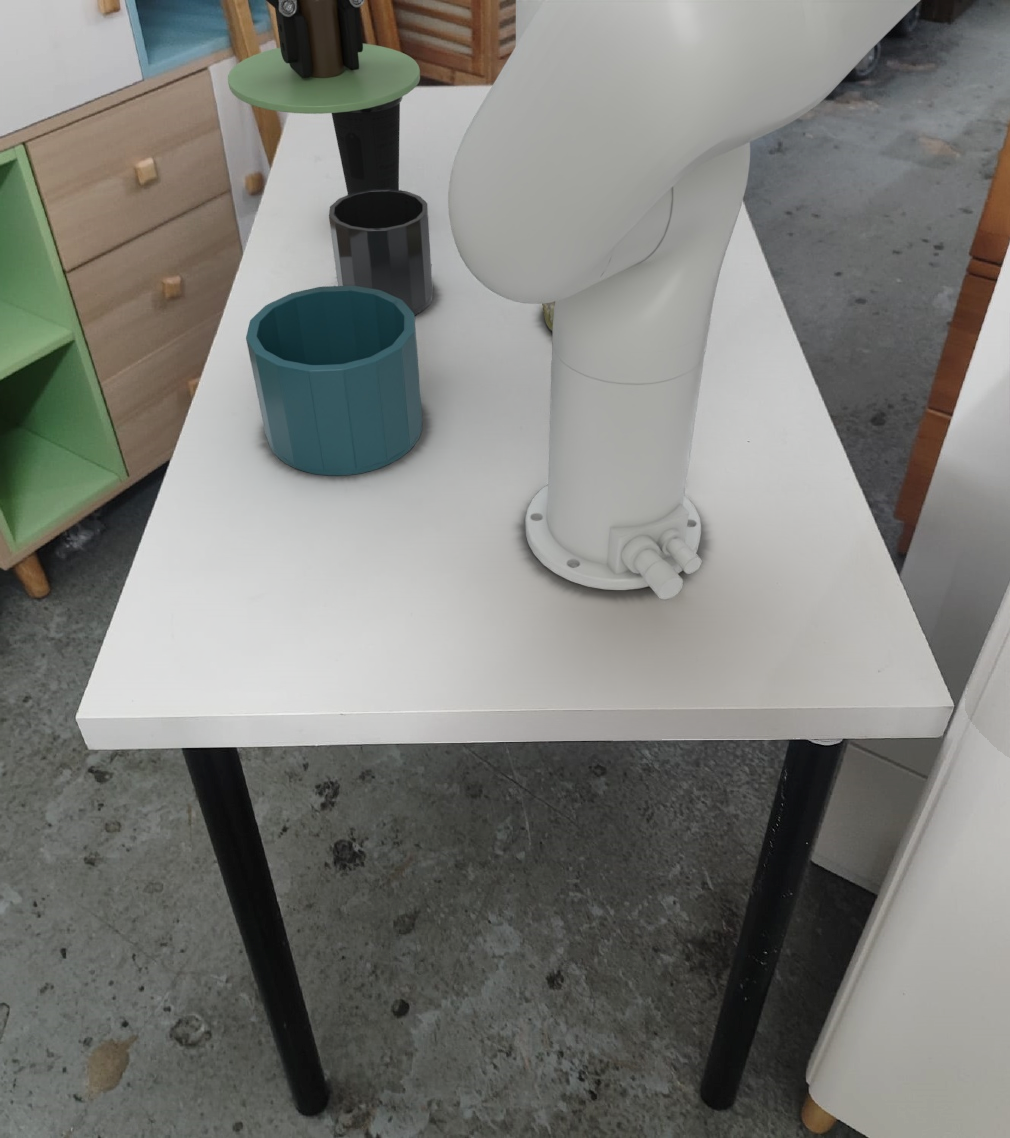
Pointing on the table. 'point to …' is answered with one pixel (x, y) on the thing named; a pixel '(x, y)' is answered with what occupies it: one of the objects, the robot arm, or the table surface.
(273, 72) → the lid
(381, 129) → the drinking cup
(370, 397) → the tin
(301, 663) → the table surface
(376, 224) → the cup
